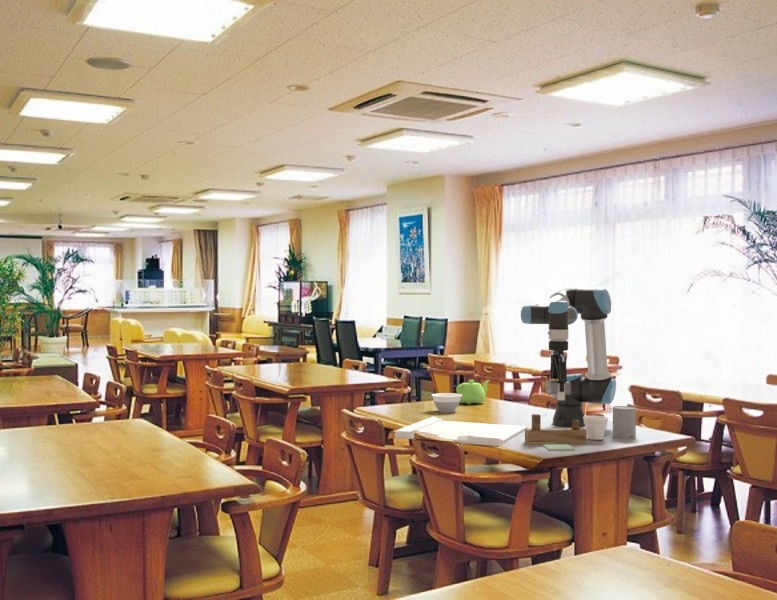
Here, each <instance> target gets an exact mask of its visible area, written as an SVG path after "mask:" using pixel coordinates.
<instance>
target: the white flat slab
mask: <svg viewBox="0 0 777 600" xmlns="http://www.w3.org/2000/svg"><path fill="white" fill-rule="evenodd" d="M525 429H528V426H526V425H512V424H511V425H510V424H496V423H483V422H482V423H481V422H467V421H453V420H443V418H440V417H439V418H438V417H436V416H434V415H433V416H431V417H428V418H426V419H423V420H419V421H417V422H415V423H411V424H409V425H407V426H404V427H401V428H399V429H396V430H394V431H395V433H394V438H396V439H405V440H406V439H408V440H415V439H414V437H415V436H414V434H415V433H416V432H413V431H414V430H417V431H420V433H425V434H428V435H432V436H436V437H441V438H445V439H449V440H453V441H456V442H458V443H457V444H467V445H468V444H469V445H480V446H482V445H483V446H493V447H501V446H502V445H503V444H505V443H507V442H508V441H510V440H512V439H513V438H515V437H517V436H518V435H520V434H522V433H523V432H524V433H525Z"/></svg>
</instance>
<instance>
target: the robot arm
mask: <svg viewBox="0 0 777 600" xmlns="http://www.w3.org/2000/svg"><path fill="white" fill-rule="evenodd" d="M611 299H612V298H611V296H610V293H609V291H608V290H607V289H606V288H605V287H596V286H595V287H593V286H592V287H569V288H565V289H561V290H559V291H556V292H554V293H553V294H552V295H550V296H549V298H546V299H545V300H543V301H541V302H539V303H537V304H535V305H524V306H522V307H521V310H520V320H521V323H523V324H528V325H548V331H547V334H548V340H549V341H548V350H549V351H552V352H553V353H551V354H550V370H549V371H550V374H549V375H550V376H549V379H550V381H552V379H558V382H557V394H551V399H556V409H555V411H554V415H553V418H552V424H553V425H555V426H561V427H570V428H572V420H580V427H585V424H584V420H583V417H584V416H586V415H585V412H584V410H583V409H584V408H583V403H586V404H587V403H588V404H598V405H610V404H612V402H613V401H614V399H615V396H616V395H615V394H616V391H617V380H616V379H615V378H612V373H611V372H609V371H608V356H607V342H606V339H607V338H606V329H605V328H606V327H605V326H606V325H605V320H606V319H607V318H608V315H609V314H610V313H612V312H611V311H612V300H611ZM578 315H580V319H581V320H582V321H583V322H584V329H585V330H584V331H585V332H584V333H585V347H586V360H587V361H586V362H587V371H586V373H585V375H584V376H583V374H582V373H573V374H571V373H570V374H567V373H568V372H567V360H568V359H567V356H565V353H564V352H566V351H568V350H569V341H568V340H569V325H572V324H574V323H575V322H577V320H578ZM565 382H570V383H571V394H565Z"/></svg>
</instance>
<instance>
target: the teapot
mask: <svg viewBox="0 0 777 600" xmlns="http://www.w3.org/2000/svg"><path fill="white" fill-rule="evenodd" d="M490 380H491V379H487V380H485V381H484V383H483V385H482V384H481V383H480V382H475V380H474V379H468V380H467V381H468V382H462V383H460V384H458V385H457V386H455V387H456V389H455V390H456V394H461V395H462V396H461V397H460V403H462V402H463V403H462V404H466V405H467V404H471V405H472V404H476V403H481V404H482V403H484V402H485V400H486V394H487V392H488V383H489V382H490Z"/></svg>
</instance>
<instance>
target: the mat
mask: <svg viewBox="0 0 777 600" xmlns="http://www.w3.org/2000/svg"><path fill="white" fill-rule="evenodd" d="M541 445H542V447H543V448H545V449H546V450H548V451H558V452H559V451H576V448H574V447H572V445H570V444H541Z"/></svg>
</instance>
